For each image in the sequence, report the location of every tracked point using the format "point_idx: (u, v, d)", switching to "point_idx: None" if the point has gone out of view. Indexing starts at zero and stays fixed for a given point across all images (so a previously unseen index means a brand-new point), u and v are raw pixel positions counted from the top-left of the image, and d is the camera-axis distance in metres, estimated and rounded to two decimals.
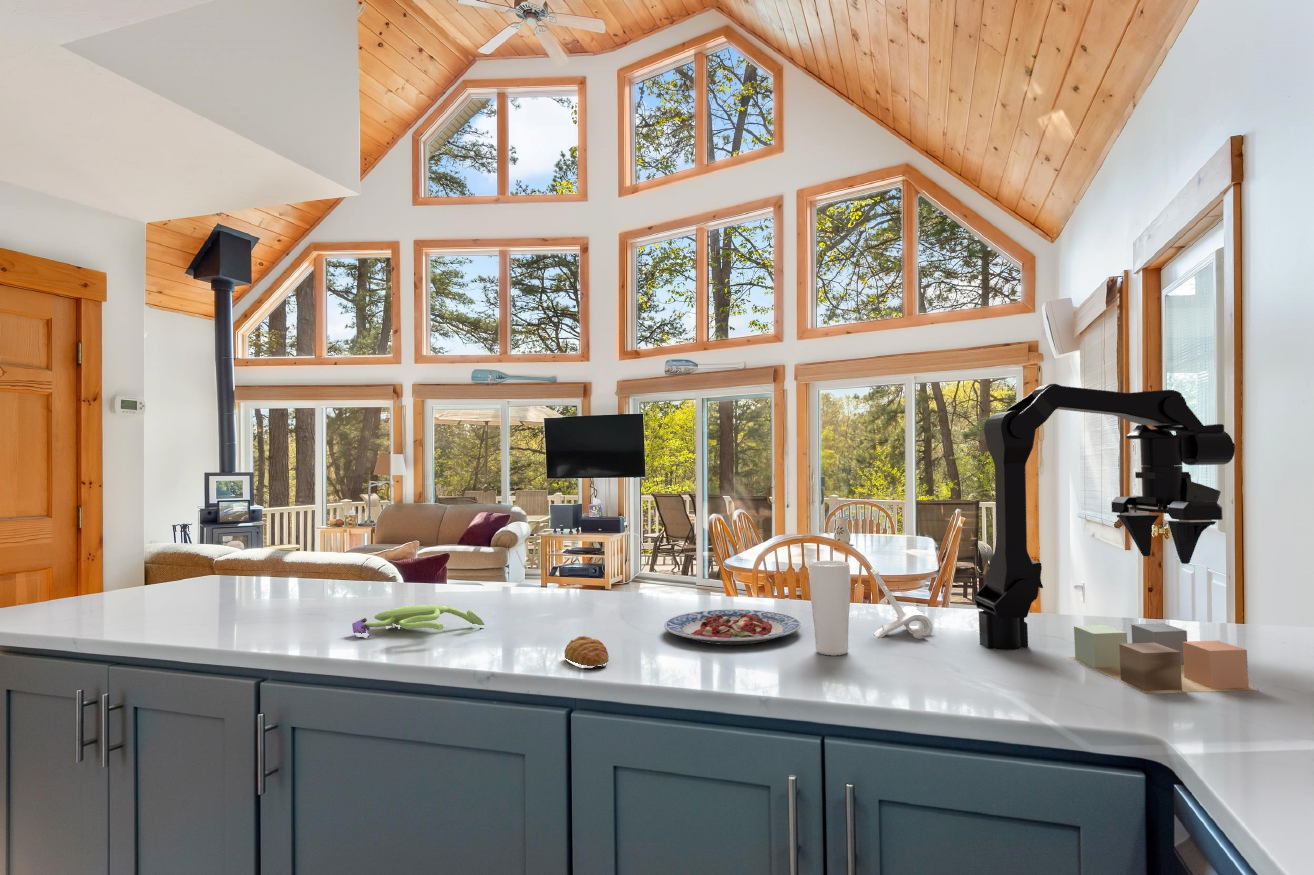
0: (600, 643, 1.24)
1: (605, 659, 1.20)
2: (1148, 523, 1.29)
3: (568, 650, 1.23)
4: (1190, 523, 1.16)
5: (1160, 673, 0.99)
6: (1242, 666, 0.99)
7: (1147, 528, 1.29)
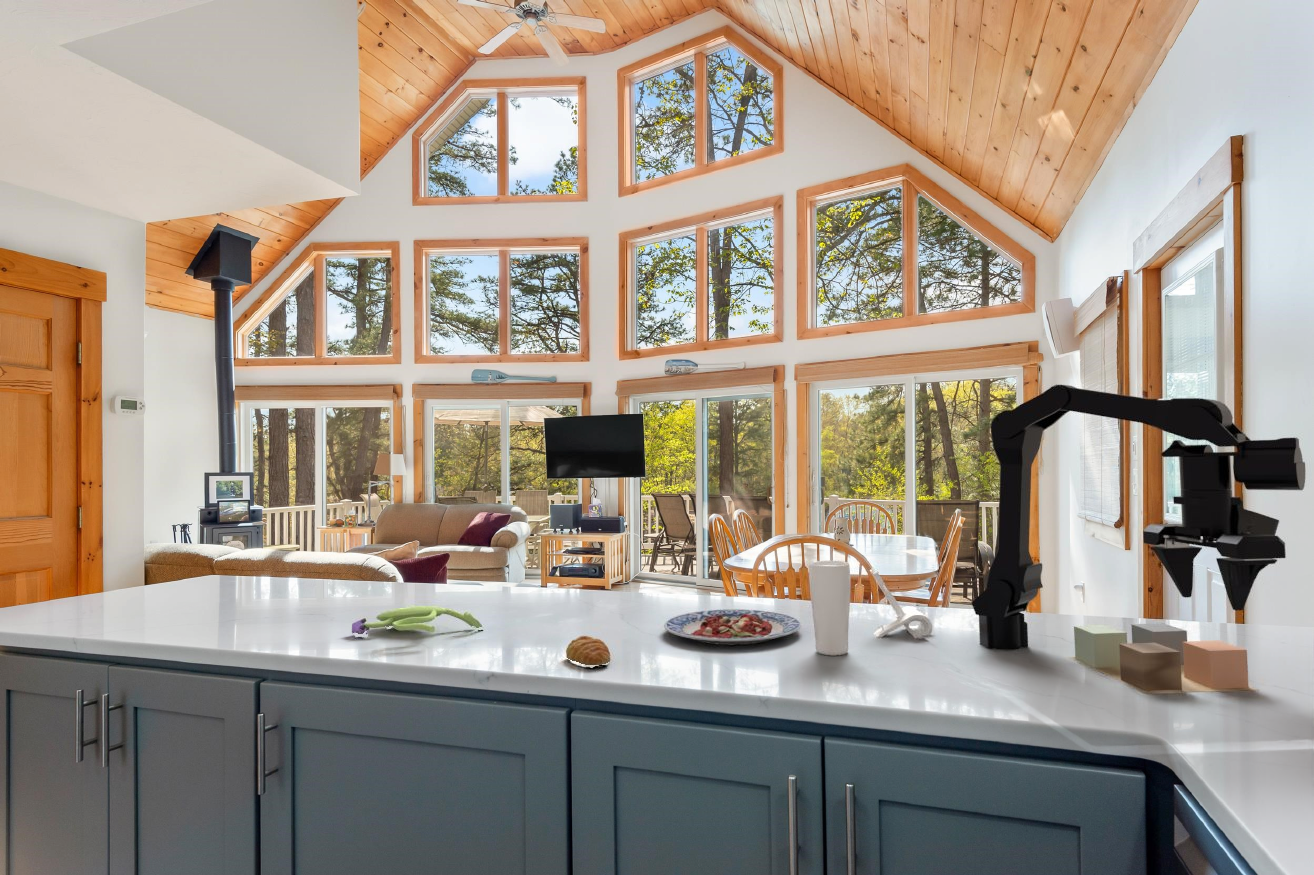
0: (602, 642, 1.24)
1: (607, 659, 1.20)
2: (1189, 557, 1.07)
3: (570, 650, 1.24)
4: (1245, 562, 0.94)
5: (1160, 673, 0.99)
6: (1242, 666, 0.99)
7: (1188, 563, 1.07)
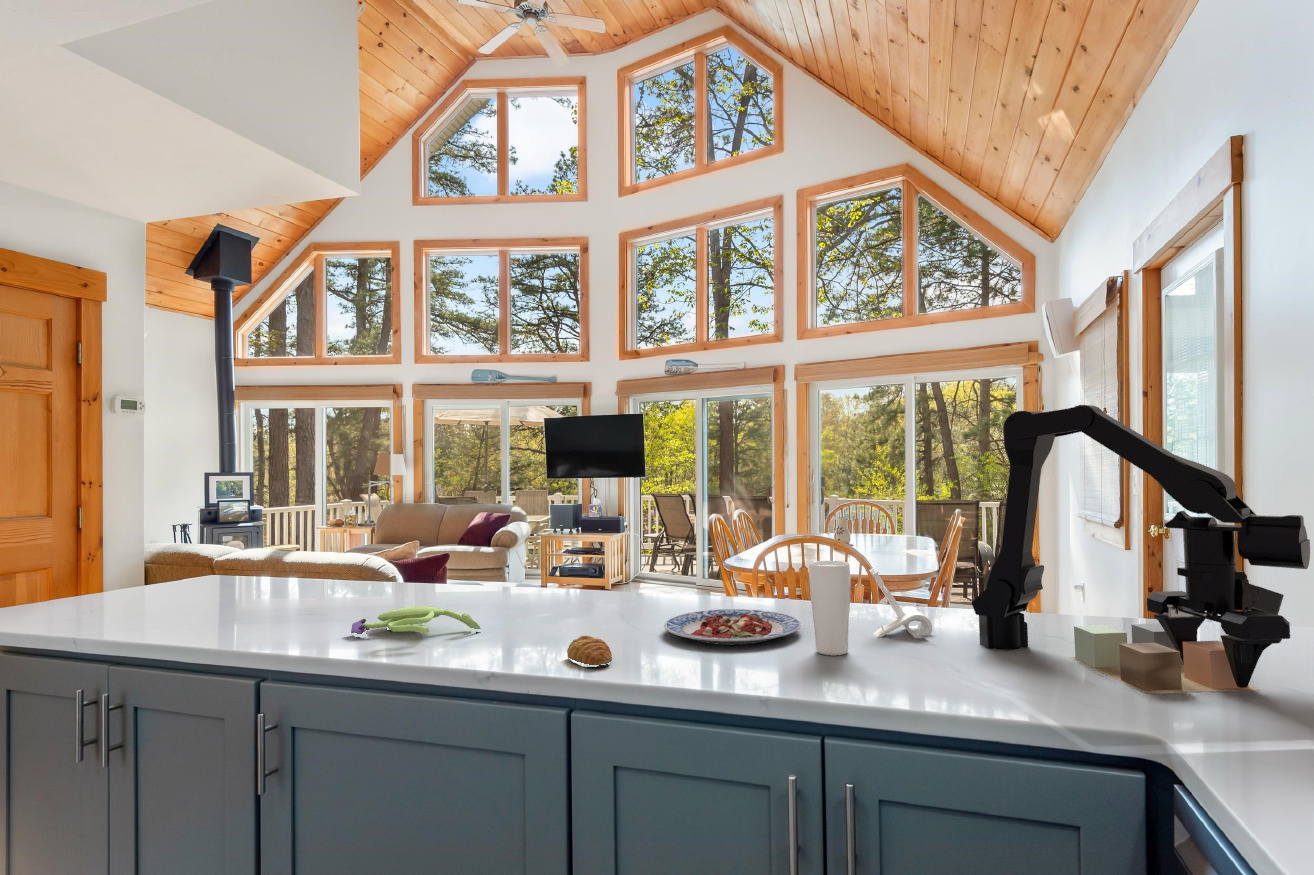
0: (603, 642, 1.25)
1: (609, 658, 1.20)
2: (1192, 627, 1.07)
3: (571, 649, 1.24)
4: (1250, 642, 0.94)
5: (1160, 673, 0.99)
6: None
7: (1191, 633, 1.07)
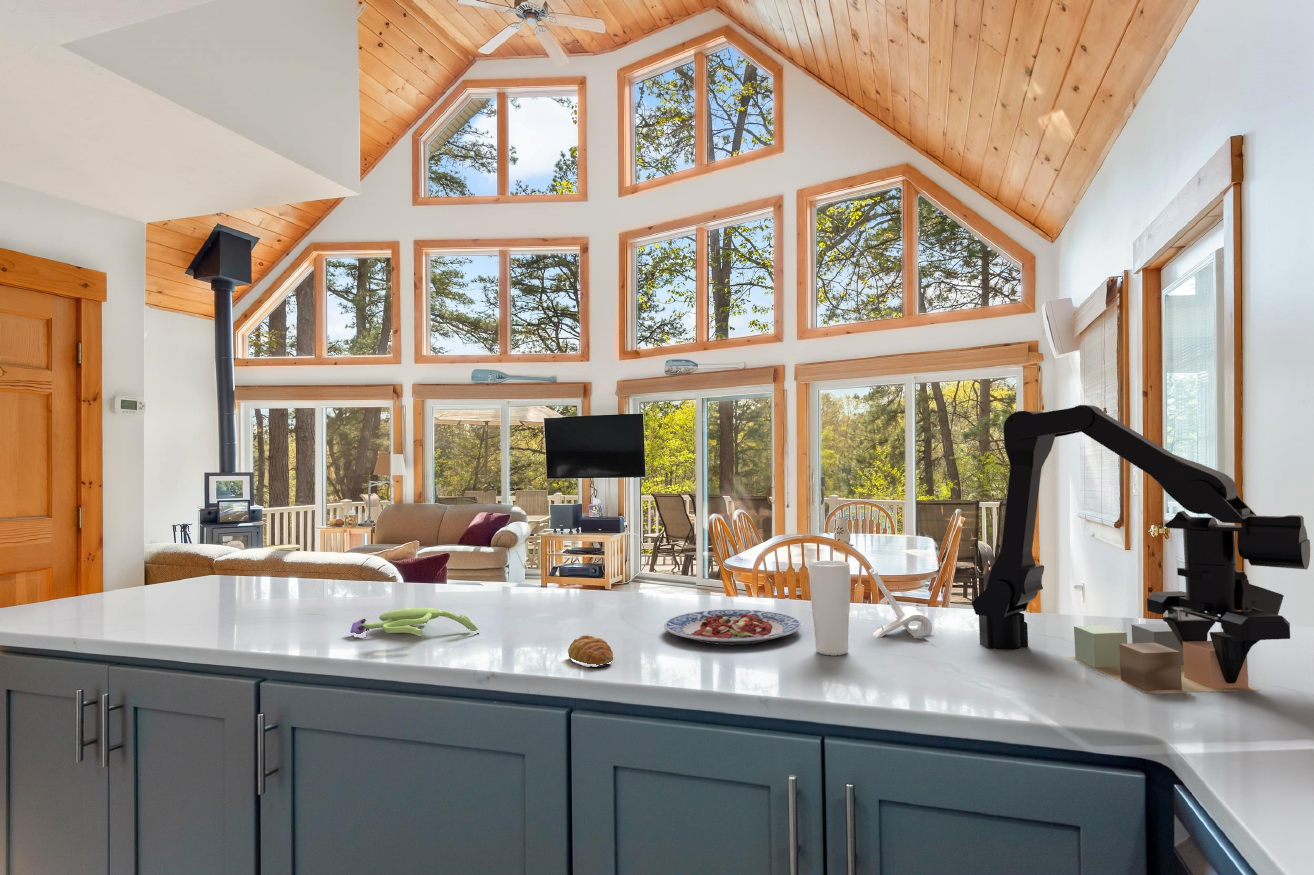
0: (604, 642, 1.25)
1: (610, 658, 1.20)
2: (1202, 630, 1.05)
3: (572, 649, 1.24)
4: (1237, 638, 0.96)
5: (1160, 673, 0.99)
6: None
7: (1202, 637, 1.05)
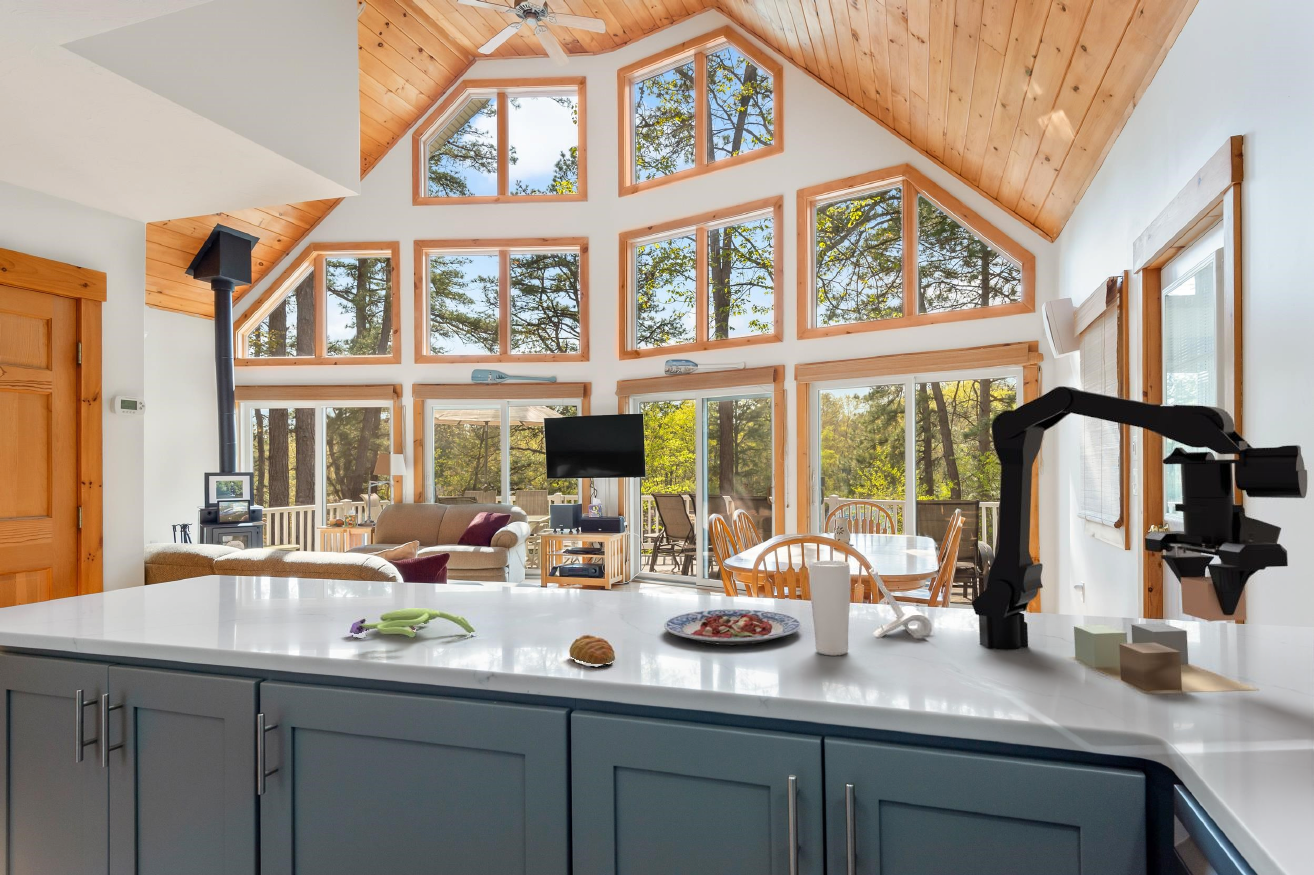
0: (605, 641, 1.25)
1: (612, 657, 1.21)
2: (1200, 566, 1.05)
3: (574, 649, 1.24)
4: (1235, 568, 0.96)
5: (1160, 673, 0.99)
6: (1240, 598, 0.99)
7: (1199, 572, 1.05)
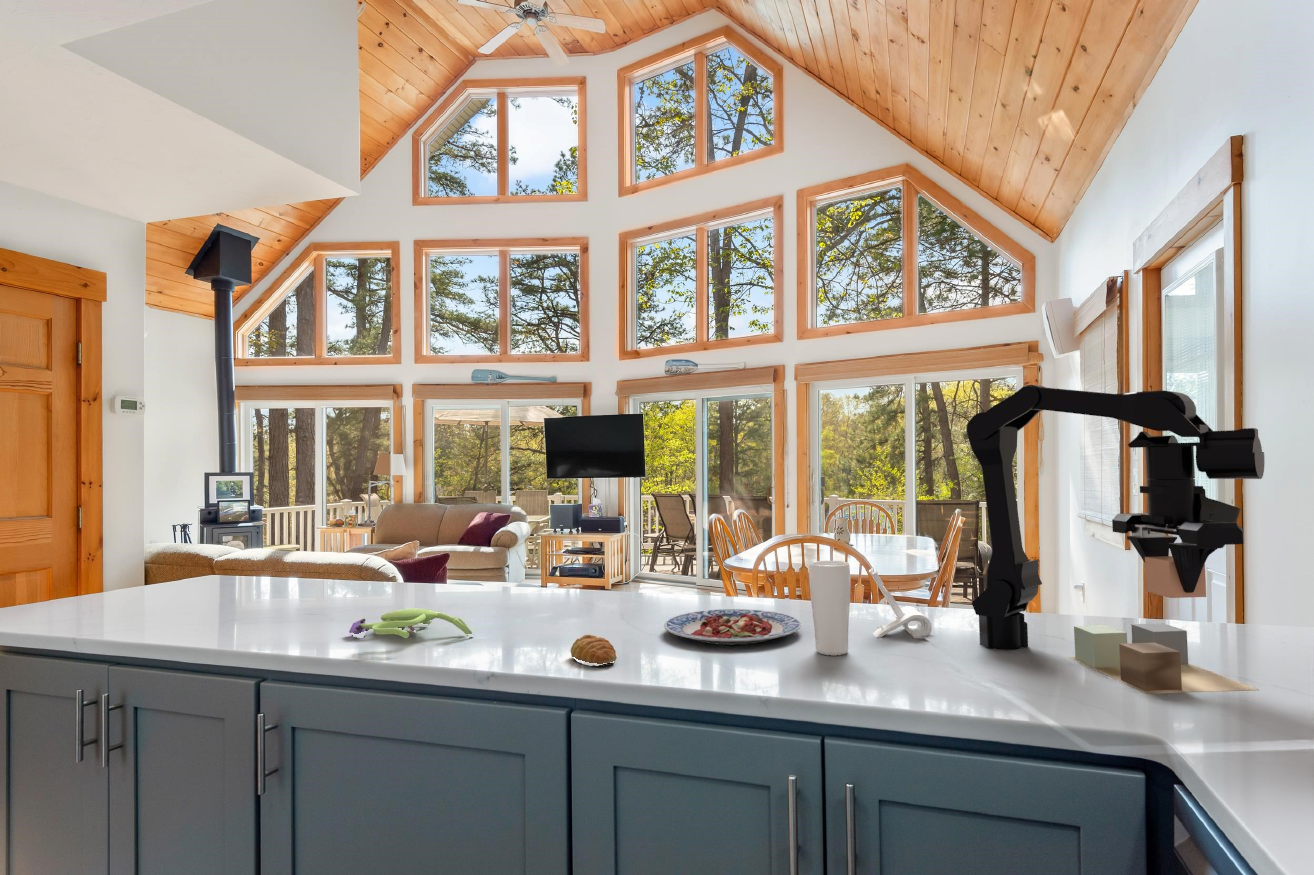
0: (606, 641, 1.25)
1: (614, 657, 1.21)
2: (1164, 546, 1.09)
3: (575, 648, 1.24)
4: (1194, 546, 0.99)
5: (1160, 673, 0.99)
6: (1200, 576, 1.03)
7: (1163, 552, 1.08)
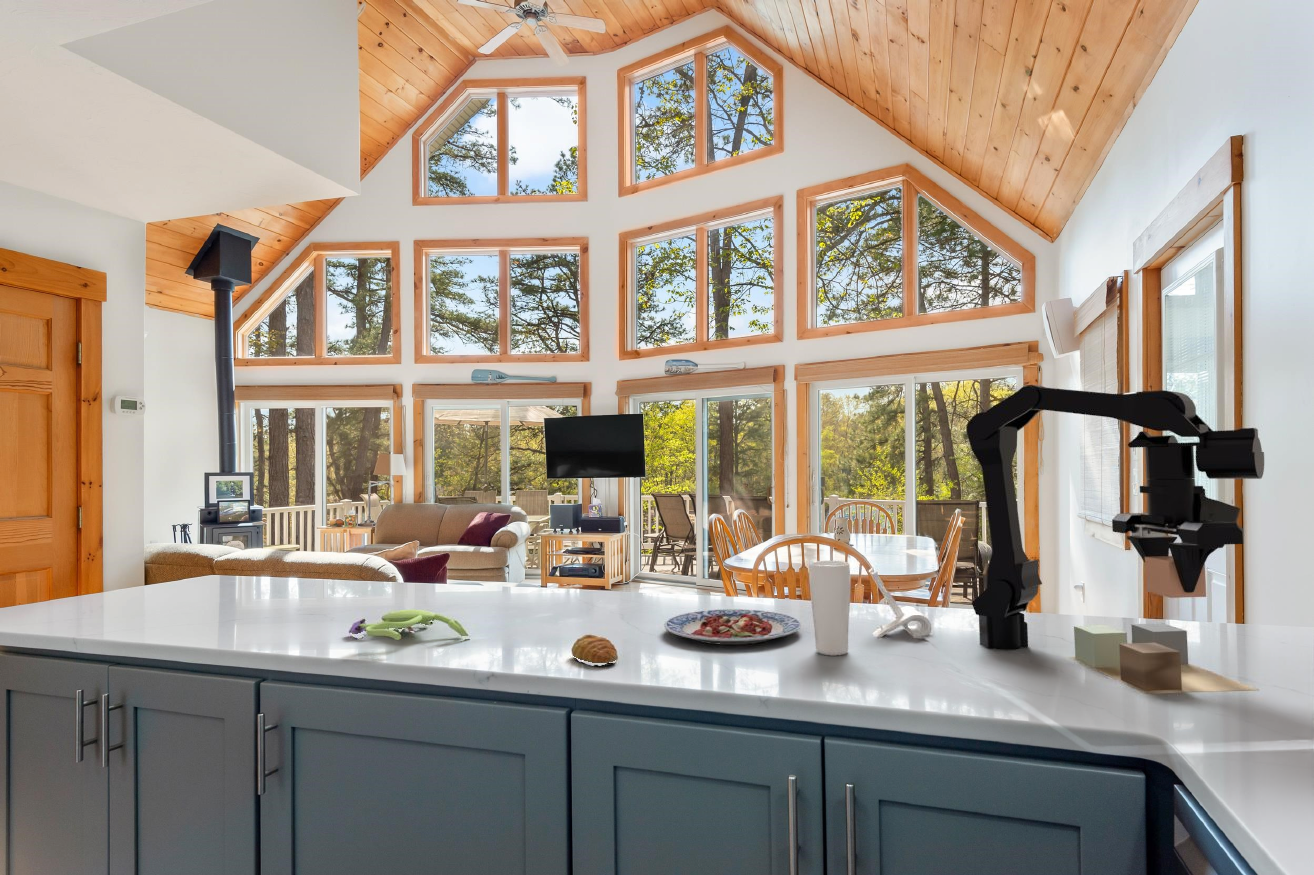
0: (608, 641, 1.26)
1: (615, 657, 1.21)
2: (1164, 546, 1.09)
3: (576, 648, 1.24)
4: (1194, 546, 0.99)
5: (1160, 673, 0.99)
6: (1200, 576, 1.03)
7: (1163, 552, 1.08)
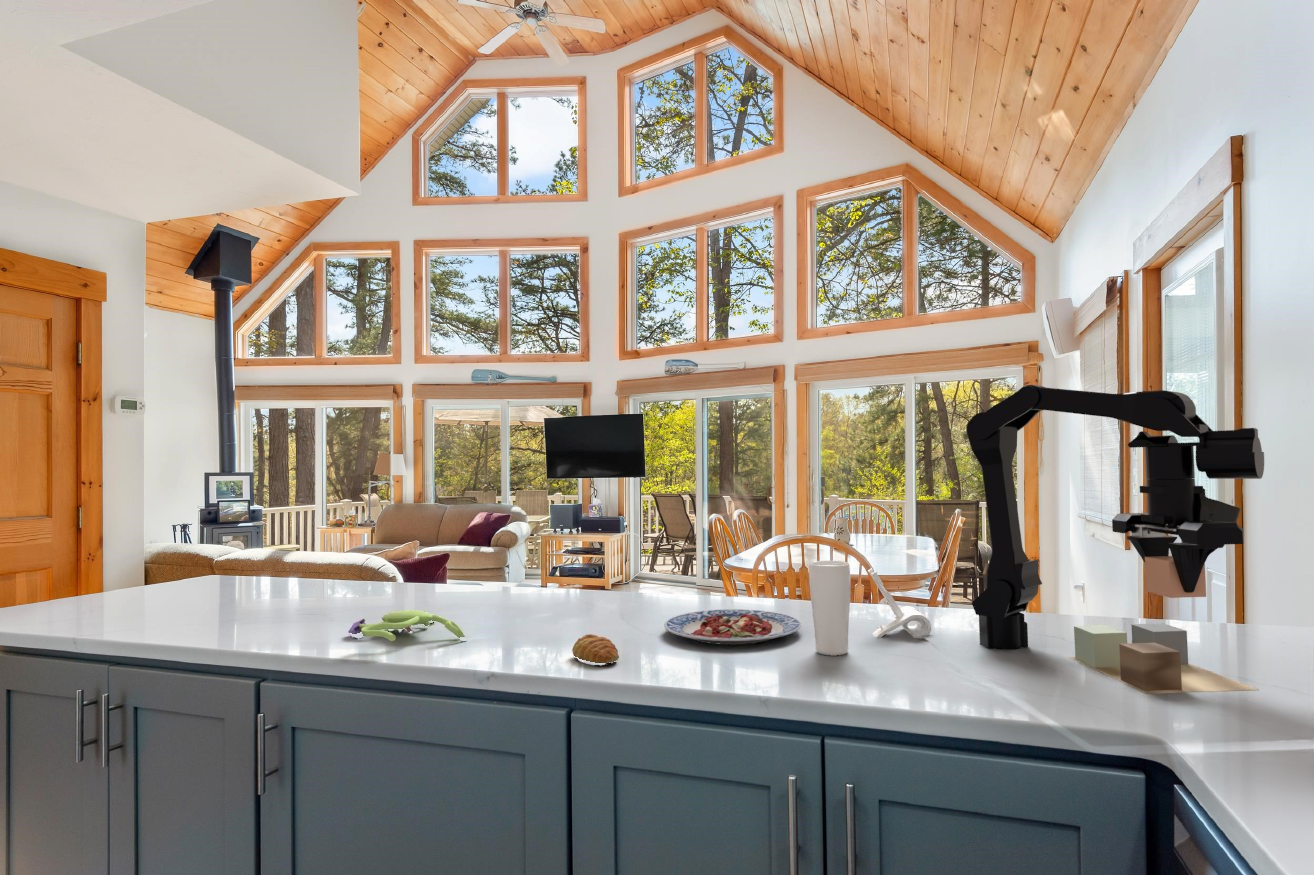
0: (608, 640, 1.26)
1: (616, 656, 1.21)
2: (1164, 546, 1.09)
3: (577, 648, 1.24)
4: (1194, 546, 0.99)
5: (1160, 673, 0.99)
6: (1200, 576, 1.03)
7: (1163, 552, 1.08)
